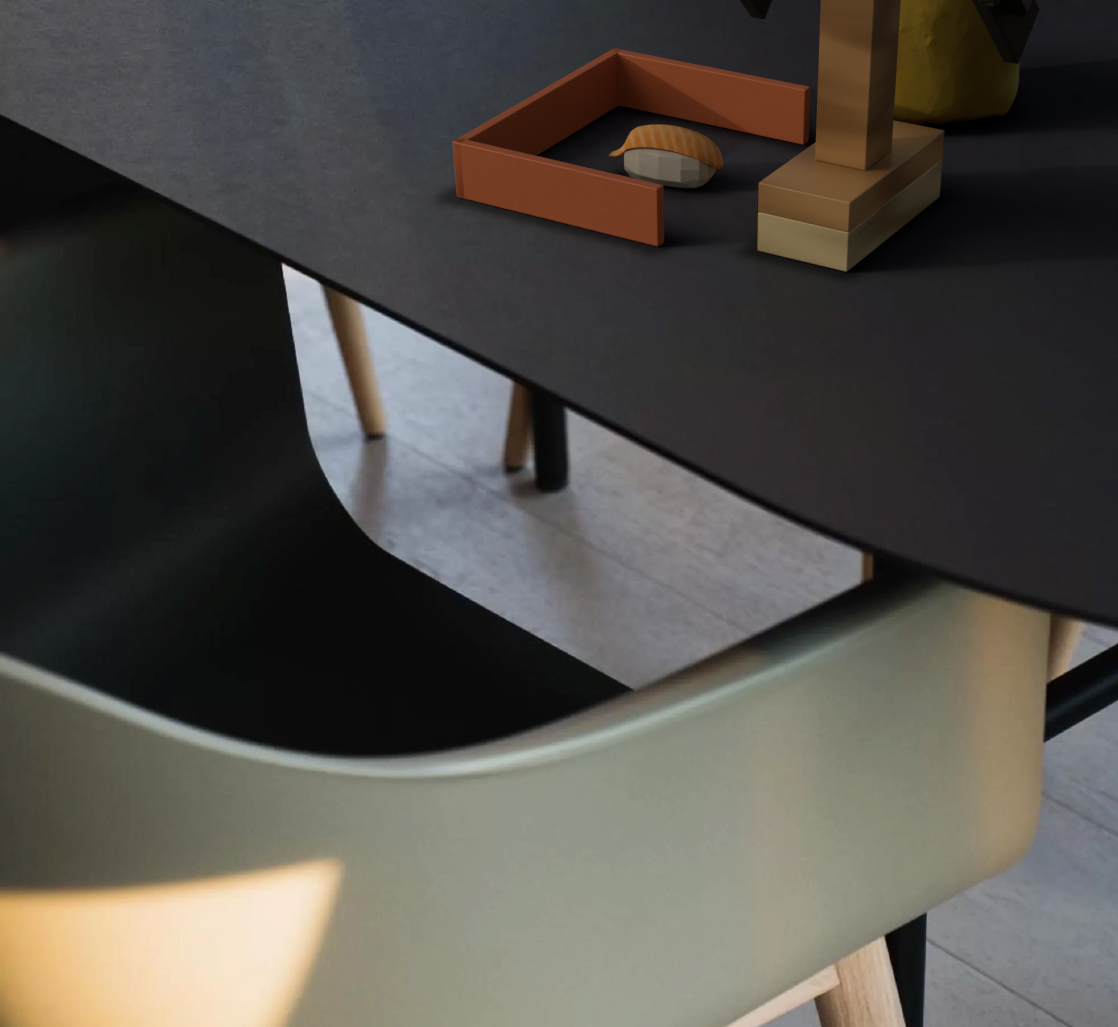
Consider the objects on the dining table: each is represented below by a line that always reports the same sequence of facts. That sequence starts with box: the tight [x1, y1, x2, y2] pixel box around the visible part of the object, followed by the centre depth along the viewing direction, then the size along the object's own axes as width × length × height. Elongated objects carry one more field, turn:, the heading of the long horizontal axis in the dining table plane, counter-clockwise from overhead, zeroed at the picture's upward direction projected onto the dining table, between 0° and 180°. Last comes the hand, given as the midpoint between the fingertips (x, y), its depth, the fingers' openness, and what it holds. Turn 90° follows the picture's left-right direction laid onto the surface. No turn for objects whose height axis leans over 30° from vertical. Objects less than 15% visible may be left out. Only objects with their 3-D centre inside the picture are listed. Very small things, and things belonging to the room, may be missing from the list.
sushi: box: [608, 124, 724, 189], centre depth 107 cm, size 3×6×3 cm, turn 65°
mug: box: [894, 0, 1021, 125], centre depth 113 cm, size 12×10×10 cm
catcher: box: [452, 47, 811, 247], centre depth 109 cm, size 13×15×3 cm
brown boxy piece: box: [757, 0, 945, 272], centre depth 98 cm, size 10×5×16 cm, turn 146°
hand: (891, 14), depth 99 cm, fingers open, 13 cm apart
